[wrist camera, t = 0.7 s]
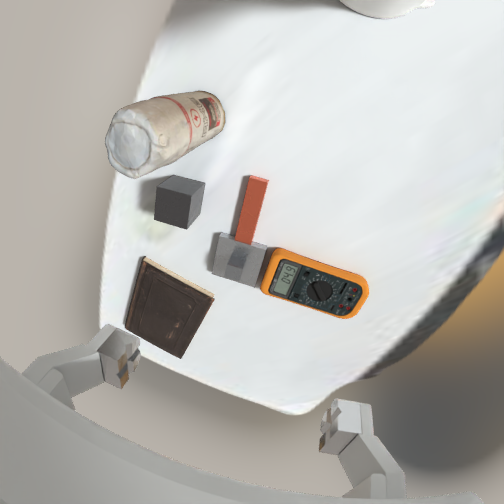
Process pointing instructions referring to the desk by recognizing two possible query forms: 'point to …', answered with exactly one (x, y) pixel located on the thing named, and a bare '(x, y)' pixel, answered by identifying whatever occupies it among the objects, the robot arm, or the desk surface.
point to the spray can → (161, 131)
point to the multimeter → (314, 284)
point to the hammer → (243, 240)
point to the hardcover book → (166, 308)
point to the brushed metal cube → (179, 201)
